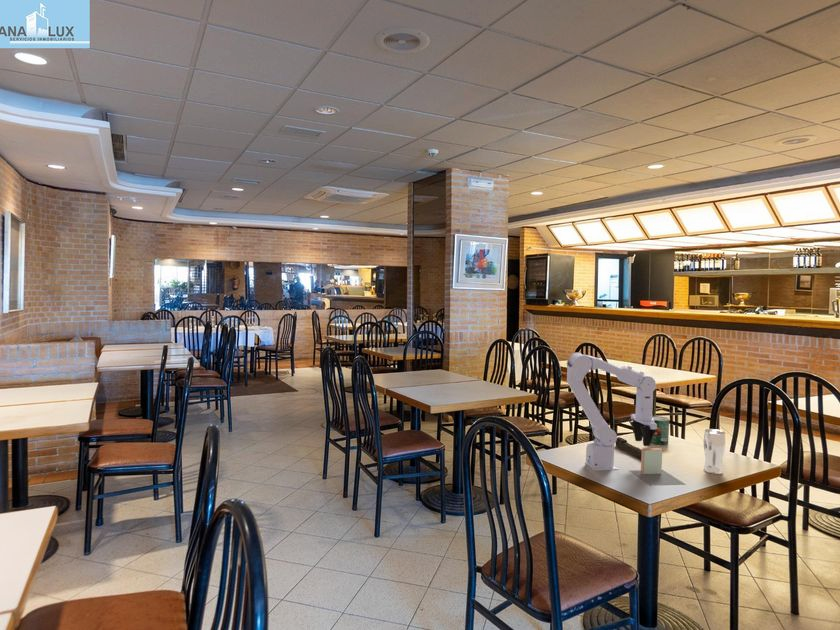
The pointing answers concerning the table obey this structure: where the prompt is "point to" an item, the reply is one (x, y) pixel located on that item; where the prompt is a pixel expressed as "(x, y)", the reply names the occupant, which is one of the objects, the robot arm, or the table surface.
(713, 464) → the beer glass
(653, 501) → the table surface
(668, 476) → the mat
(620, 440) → the hand tool
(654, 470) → the tile
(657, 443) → the canned tomato
